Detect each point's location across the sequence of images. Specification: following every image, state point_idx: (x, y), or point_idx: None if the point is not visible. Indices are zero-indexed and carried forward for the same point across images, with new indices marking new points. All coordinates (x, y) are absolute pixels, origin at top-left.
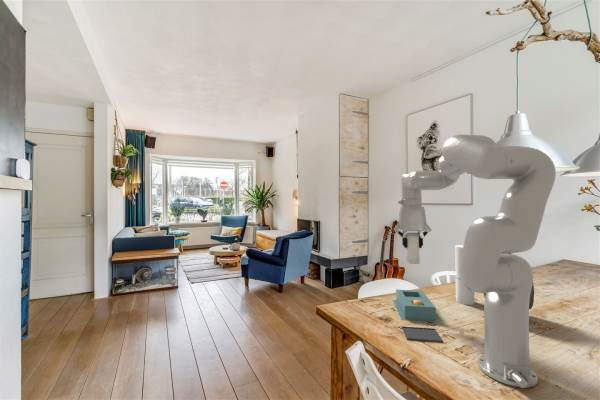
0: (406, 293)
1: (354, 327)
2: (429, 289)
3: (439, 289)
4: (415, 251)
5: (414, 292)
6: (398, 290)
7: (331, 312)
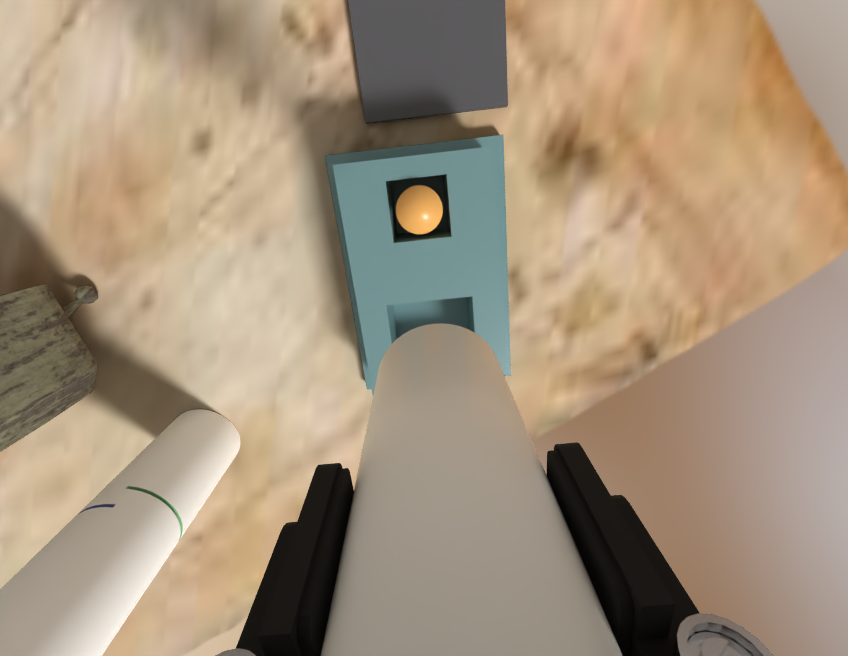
0: None
1: (739, 5)
2: None
3: None
4: (420, 396)
5: None
6: None
7: (826, 168)
